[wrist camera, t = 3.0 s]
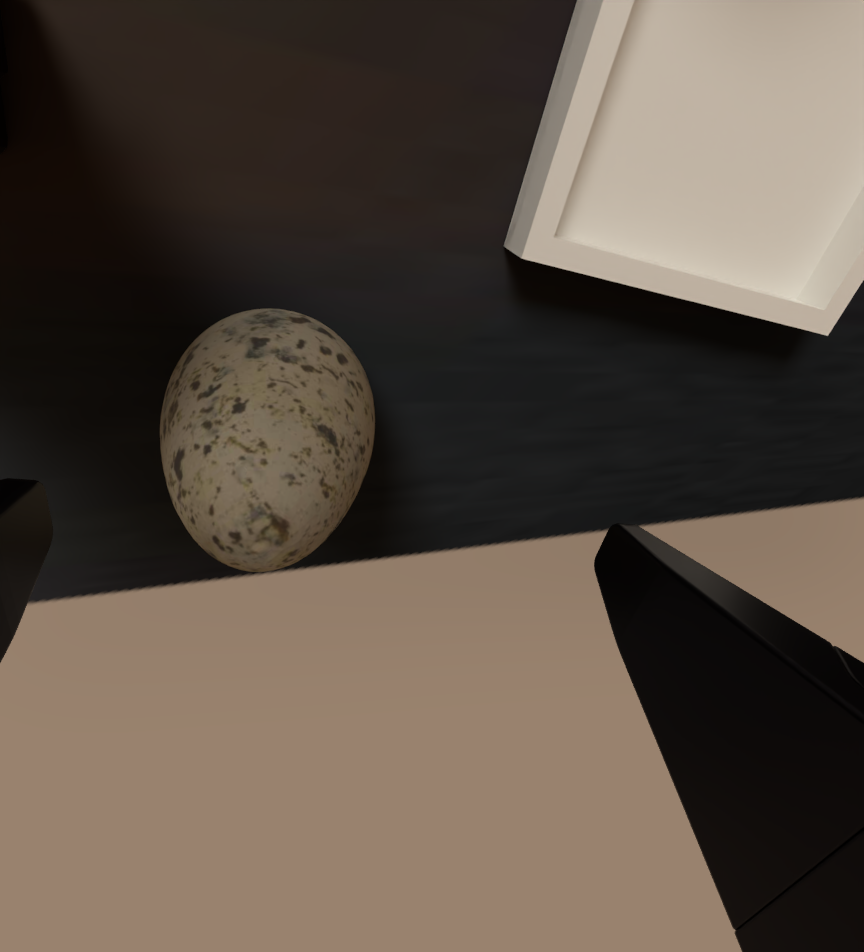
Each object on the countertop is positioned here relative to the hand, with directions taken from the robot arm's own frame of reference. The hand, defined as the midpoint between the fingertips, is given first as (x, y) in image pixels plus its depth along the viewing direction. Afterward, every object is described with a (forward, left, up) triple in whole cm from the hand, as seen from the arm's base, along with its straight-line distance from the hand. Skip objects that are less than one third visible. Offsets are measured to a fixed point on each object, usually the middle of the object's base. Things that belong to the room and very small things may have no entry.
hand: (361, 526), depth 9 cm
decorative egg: (-2, -2, -12) cm, 13 cm away
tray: (+11, +10, -12) cm, 19 cm away
